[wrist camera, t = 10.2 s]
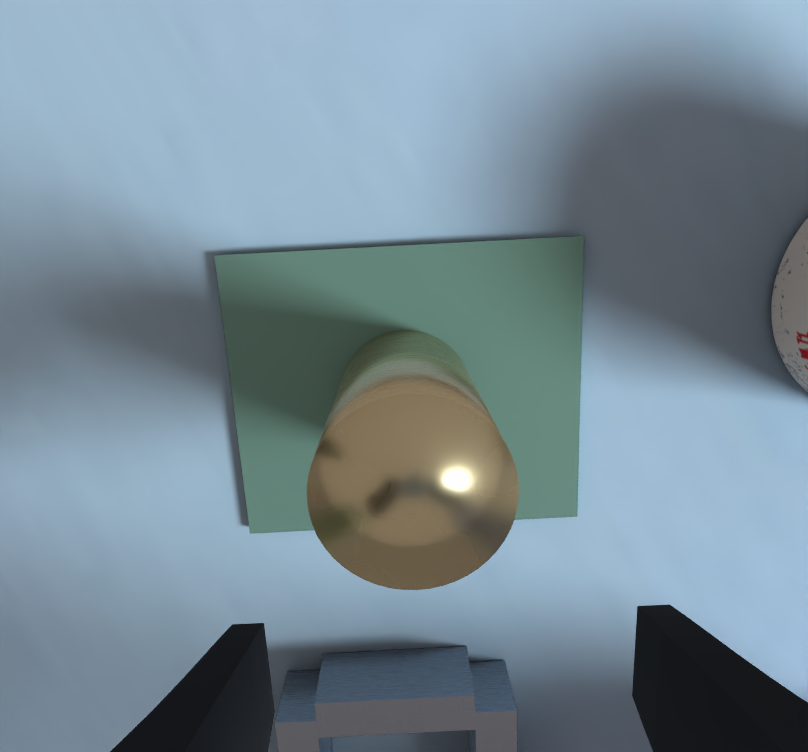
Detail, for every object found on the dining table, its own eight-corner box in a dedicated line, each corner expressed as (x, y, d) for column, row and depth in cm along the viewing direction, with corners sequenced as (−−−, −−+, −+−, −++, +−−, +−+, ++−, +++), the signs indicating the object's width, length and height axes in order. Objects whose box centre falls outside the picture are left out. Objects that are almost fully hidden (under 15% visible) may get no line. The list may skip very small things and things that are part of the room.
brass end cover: (470, 327, 20) (520, 389, 12) (471, 453, 21) (517, 586, 13) (336, 332, 20) (298, 398, 12) (344, 458, 21) (314, 594, 13)
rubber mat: (580, 235, 19) (584, 235, 19) (574, 511, 22) (577, 516, 21) (217, 254, 19) (214, 255, 19) (252, 528, 22) (250, 533, 21)
